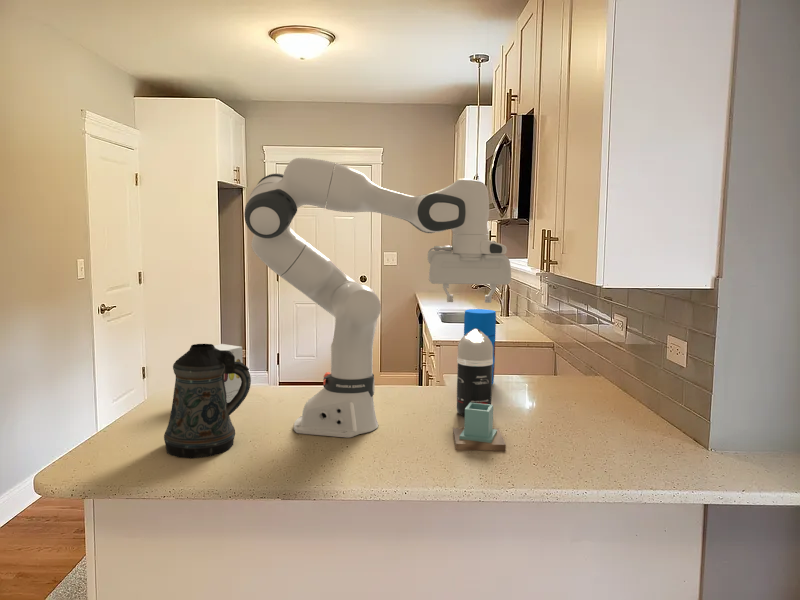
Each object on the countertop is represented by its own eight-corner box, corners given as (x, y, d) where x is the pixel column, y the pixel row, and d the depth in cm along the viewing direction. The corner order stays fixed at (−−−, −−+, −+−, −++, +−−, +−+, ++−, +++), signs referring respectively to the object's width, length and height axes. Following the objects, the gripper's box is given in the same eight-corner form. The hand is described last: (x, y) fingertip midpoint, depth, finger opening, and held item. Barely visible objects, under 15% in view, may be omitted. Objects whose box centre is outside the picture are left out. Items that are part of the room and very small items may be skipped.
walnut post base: (455, 449, 148) (456, 425, 147) (452, 433, 160) (453, 410, 159) (505, 450, 148) (506, 426, 147) (498, 433, 160) (499, 411, 159)
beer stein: (154, 444, 150) (150, 344, 147) (229, 428, 162) (227, 335, 159) (179, 464, 137) (175, 355, 134) (258, 445, 149) (256, 345, 146)
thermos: (477, 376, 220) (479, 308, 217) (500, 383, 212) (502, 311, 209) (456, 381, 213) (457, 310, 210) (479, 388, 205) (481, 314, 202)
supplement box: (220, 407, 180) (219, 351, 178) (199, 402, 185) (197, 348, 183) (244, 399, 188) (243, 346, 186) (222, 395, 193) (221, 343, 191)
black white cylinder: (498, 417, 174) (500, 330, 171) (466, 420, 170) (468, 332, 167) (480, 407, 183) (482, 324, 180) (449, 410, 179) (451, 326, 176)
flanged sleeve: (459, 439, 151) (459, 409, 150) (466, 429, 159) (467, 400, 158) (491, 442, 149) (492, 413, 148) (497, 432, 156) (497, 404, 155)
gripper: (428, 246, 147) (427, 303, 149) (513, 247, 147) (511, 304, 148) (427, 245, 153) (426, 300, 155) (509, 246, 153) (507, 301, 154)
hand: (468, 302), depth 152 cm, fingers open, 8 cm apart
